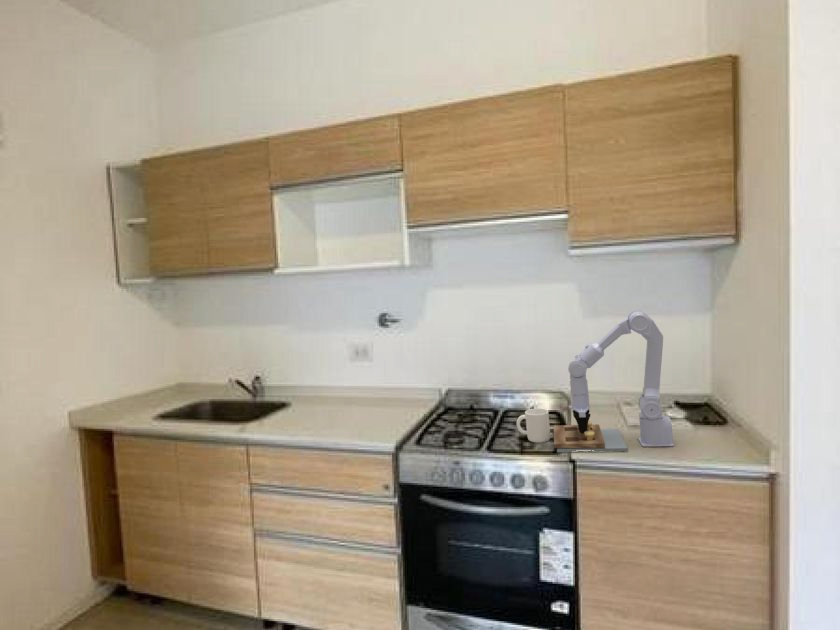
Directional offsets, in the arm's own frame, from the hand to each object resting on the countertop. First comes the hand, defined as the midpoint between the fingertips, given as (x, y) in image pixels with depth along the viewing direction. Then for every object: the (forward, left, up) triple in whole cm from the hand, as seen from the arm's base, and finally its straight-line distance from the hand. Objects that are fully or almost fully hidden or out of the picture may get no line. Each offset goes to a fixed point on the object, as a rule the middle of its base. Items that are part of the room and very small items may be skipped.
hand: (583, 431), depth 166 cm
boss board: (-2, 0, -4) cm, 4 cm away
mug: (+17, -4, -4) cm, 18 cm away
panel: (+2, 0, -2) cm, 3 cm away
